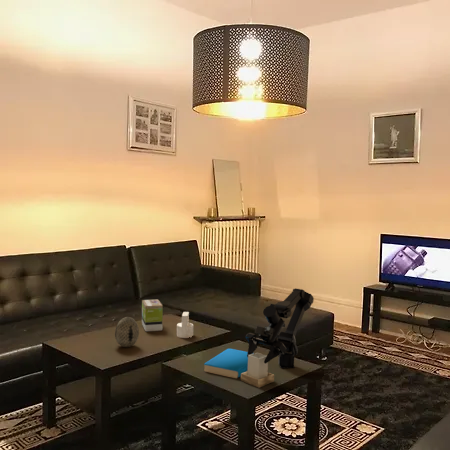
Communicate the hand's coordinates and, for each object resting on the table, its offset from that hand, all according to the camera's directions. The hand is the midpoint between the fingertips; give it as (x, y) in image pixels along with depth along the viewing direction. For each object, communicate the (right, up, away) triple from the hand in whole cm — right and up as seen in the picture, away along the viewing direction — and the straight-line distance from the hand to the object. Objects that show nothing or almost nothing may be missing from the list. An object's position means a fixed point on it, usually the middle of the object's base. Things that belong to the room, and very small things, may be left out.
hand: (256, 360), depth 206 cm
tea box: (-55, -2, +76) cm, 94 cm away
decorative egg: (-62, -5, +41) cm, 75 cm away
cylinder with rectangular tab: (-35, -4, +63) cm, 72 cm away
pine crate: (+1, -9, +2) cm, 10 cm away
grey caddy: (+1, -8, +2) cm, 9 cm away
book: (-9, -9, +18) cm, 22 cm away
